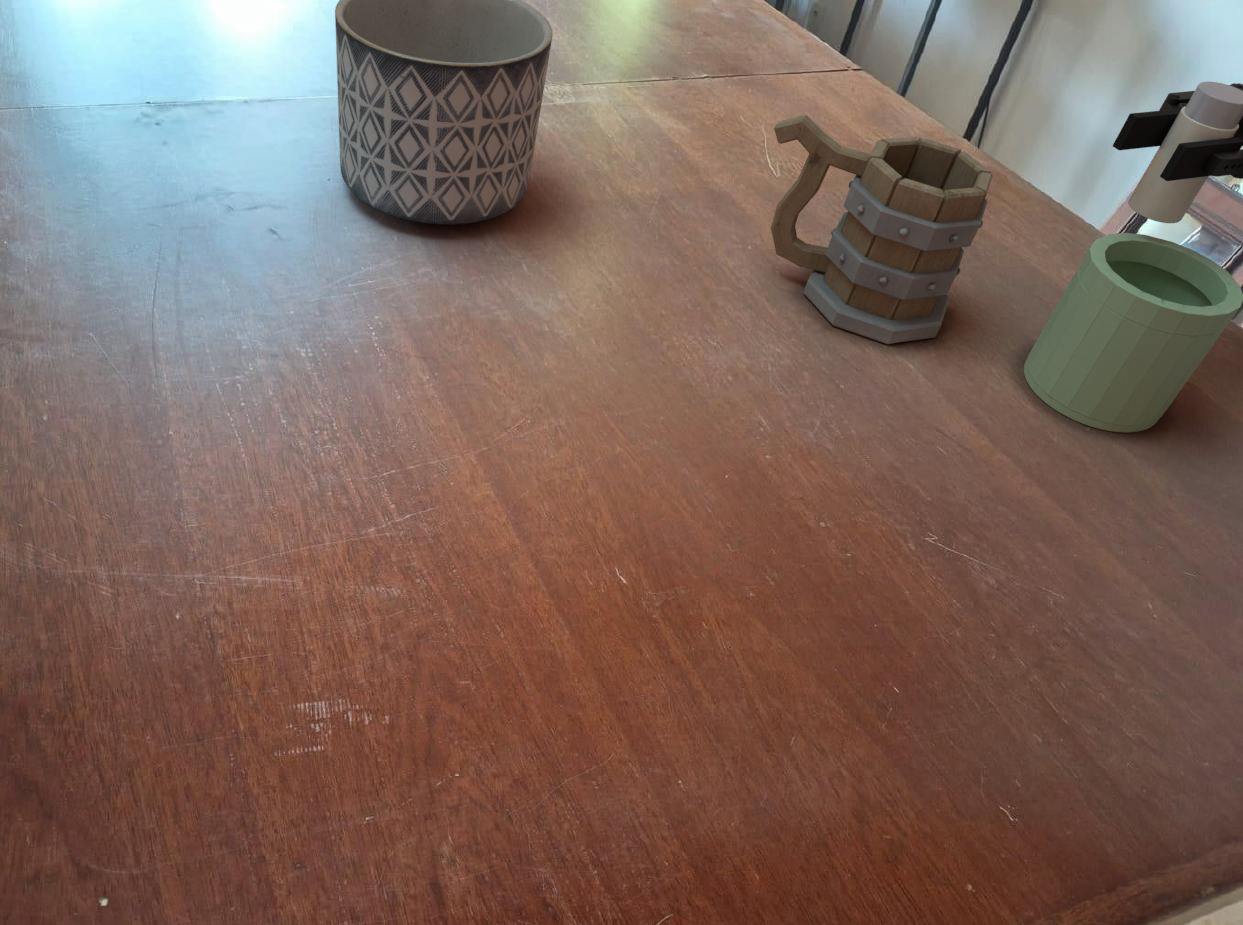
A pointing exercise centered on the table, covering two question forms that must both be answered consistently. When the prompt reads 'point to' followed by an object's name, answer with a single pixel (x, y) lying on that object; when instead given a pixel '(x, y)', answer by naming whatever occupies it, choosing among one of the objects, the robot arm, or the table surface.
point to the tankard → (884, 230)
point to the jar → (1130, 331)
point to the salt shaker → (1199, 120)
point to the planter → (439, 104)
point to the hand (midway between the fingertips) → (1148, 146)
